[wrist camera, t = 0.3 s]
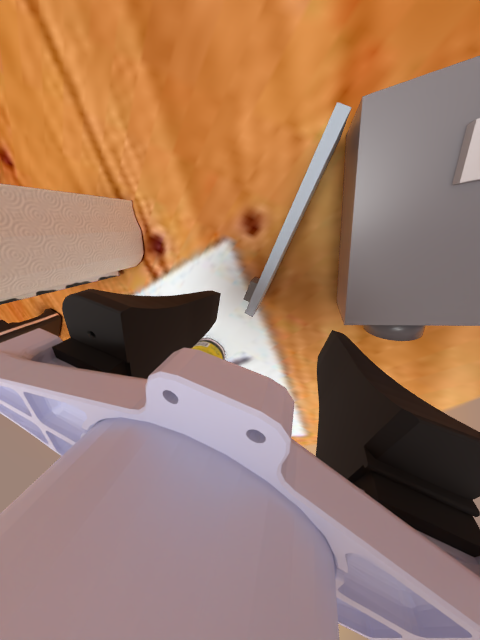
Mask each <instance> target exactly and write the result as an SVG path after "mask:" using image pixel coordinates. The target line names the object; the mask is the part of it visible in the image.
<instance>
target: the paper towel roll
mask: <svg viewBox="0 0 480 640" xmlns="http://www.w3.org/2000/svg"><path fill="white" fill-rule="evenodd" d="M143 254H144V251H143V241H142V234H141V230H140V227H139V225H138V223H137V221H136V218H135V215H134V212H133V208H132V201H131V200H123V199H115V198H108V197H100V196H92V195H84V194H76V193H69V192H61V191H53V190H45V189H38V188H30V187H22V186H14V185H6V184H0V300H1V299H5V298H10V297H14V296H18V295H22V294H26V293H30V292H34V291H38V290H42V289H46V288H50V287H54V286H58V285H62V284H66V283H70V282H74V281H78V280H82V279H86V278H90V277H95V276H99V275H103V274H107V273H111V272H115V271H119V270H123V269H127V268H131V267H135V266H137V265H138V264H139V263H140V262H141V260H142V257H143Z"/></svg>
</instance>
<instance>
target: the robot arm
mask: <svg viewBox="0 0 480 640" xmlns="http://www.w3.org/2000/svg"><path fill="white" fill-rule="evenodd" d="M220 294H221V293H218V292H215V291H203V292H196V293H190V294H183V295H175V296H134V295H125V294H117V293H111V292H105V291H99V290H94V289H88V290H85V291H81V292H78V293H74V294H71V295H69V296H67V297H66V298H65V299H64V301H63V306H62V310H63V315H64V318H65V322H66V325H67V328H68V331H69V334H70V337H71V338H69V339H67V340H65V341H62V340H61V338H59V337H58V336H56V335H54V334H52V333H50V332H47V331H45V330H43V329H40V328H38V329H35V330H33V331H30V332H28V333H25V334H22V335H20V336H17V337H15V338H12V339H9V340H7V341H4V342H2V343H0V414H2V415H4V416H5V417H7V418H8V419H10V420H11V421H13V422H14V423H16V424H17V425H19V426H21V427H22V428H23V429H25V430H26V431H28V432H29V433H30V434H32V435H33V436H35V437H36V438H37V439H39V440H40V441H41V442H43V443H44V444H46V445H47V446H48V447H50V448H51V449H52V450H54V451H55V452H56V453H58V454H59V455H61V457H60V458H59V459H58V460H57V461H56V462H55V463H54V464H53V465H52V466H51V467H49V469H47V470H46V471H45V472H44V473H43V474H42V475H41V476H40V477H39V478H38V479H37V480H36V481H35V482H33V484H31V485H30V486H29V487H28V488H27V489H26V490H25V491H24V492H23V493H22V494H21V495H20V496H19V497H18V498H16V499H15V500H14V501H13V502H12V503H11V504H10V505H9V506H8V507H7V508H6V509H5V510H4V511H3V512H1V513H0V640H339V629H338V624H340V625H342V626H344V627H346V628H348V629H350V630H352V631H354V632H356V633H358V634H360V635H362V636H364V637H366V638H368V639H370V640H480V529H479V527H478V525H477V523H476V521H475V520H474V518H473V516H475V517H478V516H479V515H480V512H479V510H478V508H477V507H476V505H475V503H474V502H473V499H475V498H477V497H479V496H480V432H478V431H476V430H474V429H472V428H471V427H469V426H467V425H465V424H463V423H461V422H459V421H457V420H455V419H454V418H452V417H450V416H448V415H447V414H445V413H443V412H442V411H440V410H438V409H436V408H435V407H433V406H431V405H430V404H428V403H427V402H425V401H423V400H422V399H420V398H419V397H417V396H416V395H414V394H413V393H411V392H410V391H408V390H407V389H405V388H404V387H403V386H401V385H400V384H398V383H397V382H396V381H394V380H393V379H392V378H391V377H389V376H388V375H387V374H386V373H384V372H383V371H382V370H381V369H380V368H378V367H377V366H376V365H375V364H374V363H373V362H372V361H371V360H370V359H369V358H368V357H367V356H365V355H364V354H363V353H362V352H361V351H360V349H359V348H358V347H357V346H356V345H355V344H354V343H353V342H352V341H351V340H350V339H349V338H348V337H347V336H345V335H344V334H342V333H339V332H336V331H333V330H332V332H331V333H330V335H329V337H328V339H327V341H326V343H325V345H324V346H323V348H322V350H321V352H320V354H319V356H318V362H317V381H318V394H319V424H318V438H317V449H316V450H317V451H316V456H315V455H313V454H312V453H310V452H309V451H308V450H306V449H305V448H304V447H302V446H301V445H300V444H298V443H297V442H296V441H294V440H293V439H291V433H292V422H293V411H294V401H293V399H292V397H291V396H290V394H289V393H288V391H287V389H286V388H285V387H283V386H282V385H280V384H278V383H277V382H275V381H274V380H272V379H271V378H269V377H266V376H263V375H261V374H258V373H256V372H253V371H251V370H248V369H246V368H243V367H241V366H238V365H236V364H233V363H231V362H228V361H226V360H223V359H221V358H218V357H216V356H213V355H210V354H208V353H205V352H203V351H200V350H196V349H192V348H193V347H194V346H195V345H196V344H197V343H198V341H199V340H200V339H201V338H202V337H203V336H204V335H205V334H206V333H207V332H208V331H209V330H210V328H211V327H212V326H213V324H214V323H215V321H216V319H217V313H218V307H219V300H220Z"/></svg>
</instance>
